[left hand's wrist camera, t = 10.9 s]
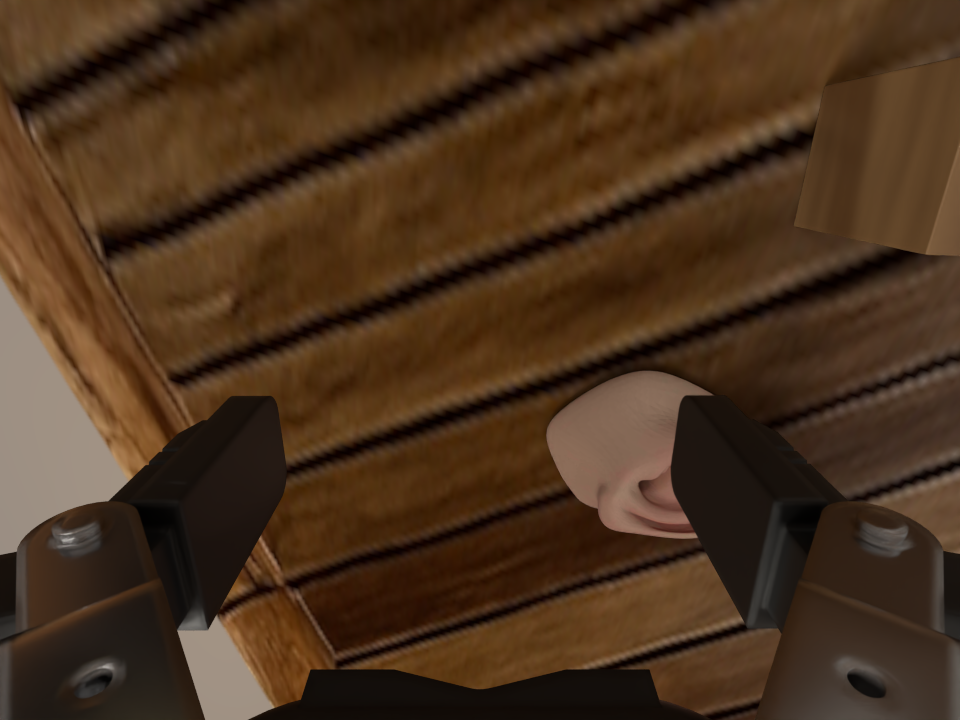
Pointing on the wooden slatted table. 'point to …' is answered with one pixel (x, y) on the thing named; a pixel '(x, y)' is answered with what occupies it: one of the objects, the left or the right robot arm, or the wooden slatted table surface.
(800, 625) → the left robot arm
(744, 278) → the wooden slatted table surface
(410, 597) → the wooden slatted table surface
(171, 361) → the wooden slatted table surface
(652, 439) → the anatomical model
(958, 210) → the brick
